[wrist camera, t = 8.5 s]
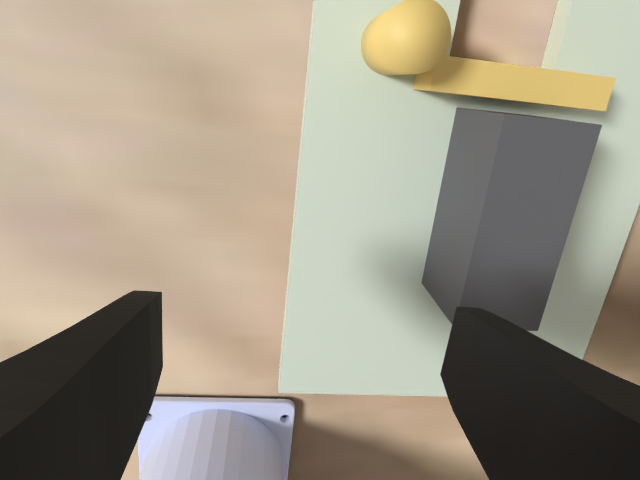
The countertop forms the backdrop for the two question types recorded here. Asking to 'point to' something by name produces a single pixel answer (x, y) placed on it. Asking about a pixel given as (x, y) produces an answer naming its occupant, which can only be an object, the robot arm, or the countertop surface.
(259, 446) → the robot arm
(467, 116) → the tall gray prism
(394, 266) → the pale green u-shaped slab
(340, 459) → the countertop surface
